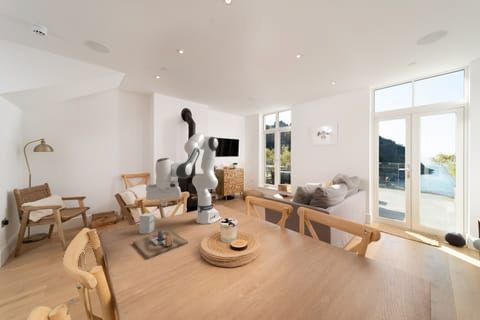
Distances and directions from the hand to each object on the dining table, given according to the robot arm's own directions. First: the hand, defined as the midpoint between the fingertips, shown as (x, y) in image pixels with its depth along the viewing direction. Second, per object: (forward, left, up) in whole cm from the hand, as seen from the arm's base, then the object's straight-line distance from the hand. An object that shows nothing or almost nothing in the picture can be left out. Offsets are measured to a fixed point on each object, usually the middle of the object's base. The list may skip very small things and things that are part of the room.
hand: (164, 205), depth 114 cm
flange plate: (+2, +3, -22) cm, 22 cm away
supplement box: (+1, -26, -24) cm, 35 cm away
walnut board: (+2, -1, -24) cm, 24 cm away
